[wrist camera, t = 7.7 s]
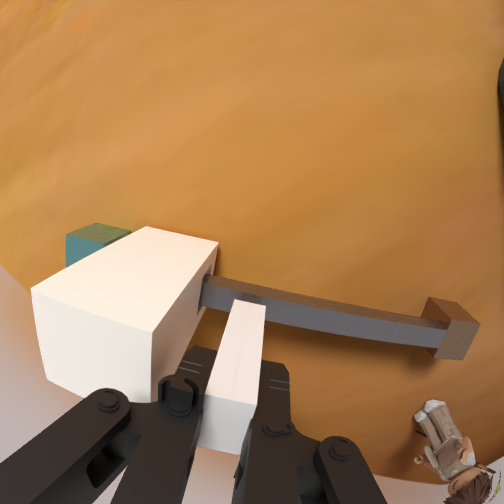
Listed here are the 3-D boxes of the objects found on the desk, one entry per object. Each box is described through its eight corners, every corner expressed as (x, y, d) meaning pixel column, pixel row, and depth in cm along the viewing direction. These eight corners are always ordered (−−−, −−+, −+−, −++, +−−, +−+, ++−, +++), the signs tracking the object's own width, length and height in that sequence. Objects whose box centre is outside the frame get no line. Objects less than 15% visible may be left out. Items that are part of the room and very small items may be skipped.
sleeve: (140, 286, 20) (47, 379, 10) (146, 226, 19) (30, 288, 8) (207, 304, 20) (150, 423, 10) (218, 242, 19) (152, 332, 8)
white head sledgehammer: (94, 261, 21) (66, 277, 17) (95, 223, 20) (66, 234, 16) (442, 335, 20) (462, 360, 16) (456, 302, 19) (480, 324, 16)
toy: (429, 383, 21) (495, 511, 7) (462, 392, 22) (524, 499, 7) (389, 428, 23) (426, 554, 9) (424, 434, 23) (465, 541, 9)
